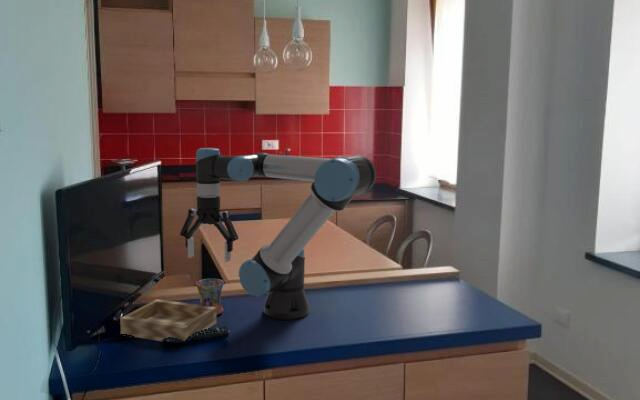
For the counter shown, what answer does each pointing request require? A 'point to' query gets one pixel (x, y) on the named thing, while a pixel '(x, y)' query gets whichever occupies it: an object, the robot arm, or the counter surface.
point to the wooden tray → (167, 320)
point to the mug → (210, 293)
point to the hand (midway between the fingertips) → (209, 259)
